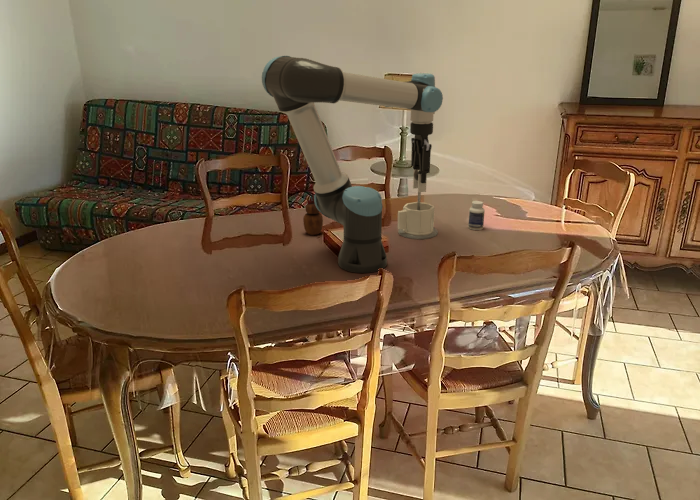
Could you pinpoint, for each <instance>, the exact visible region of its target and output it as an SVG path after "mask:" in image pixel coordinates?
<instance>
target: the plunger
mask: <svg viewBox="0 0 700 500" xmlns="http://www.w3.org/2000/svg"><path fill="white" fill-rule="evenodd" d="M413 172H414V171H413ZM418 172H420V168H419V169H416V170H415V172H414V178H415V179H416V180H417V181H418ZM421 195H422V192H418V191H417V202H418V203H417V210H419V211H420V202H421V197H422V196H421Z"/></svg>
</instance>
